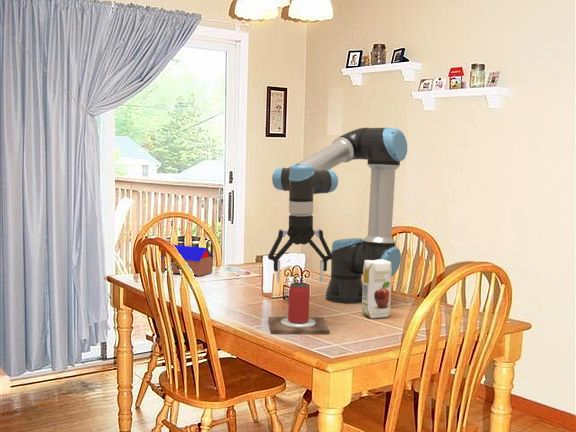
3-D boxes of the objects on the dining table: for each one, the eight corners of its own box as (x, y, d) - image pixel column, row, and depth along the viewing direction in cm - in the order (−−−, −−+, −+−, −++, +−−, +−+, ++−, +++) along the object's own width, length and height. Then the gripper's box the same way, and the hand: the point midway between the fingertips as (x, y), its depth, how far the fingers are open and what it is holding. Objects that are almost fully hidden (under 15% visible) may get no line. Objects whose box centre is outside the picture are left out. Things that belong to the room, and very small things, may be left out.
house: (198, 276, 295) (199, 249, 293) (160, 271, 303) (160, 245, 302) (213, 272, 305) (213, 246, 304) (175, 267, 314) (176, 242, 313)
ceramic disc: (313, 319, 223) (313, 317, 223) (317, 328, 212) (317, 326, 212) (279, 318, 222) (279, 317, 222) (281, 328, 211) (282, 326, 211)
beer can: (287, 318, 220) (287, 282, 218) (307, 318, 220) (308, 282, 219) (288, 324, 213) (289, 286, 212) (309, 324, 214) (310, 286, 212)
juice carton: (359, 313, 236) (361, 259, 234) (380, 312, 239) (382, 258, 237) (370, 319, 229) (372, 263, 227) (392, 317, 232) (394, 262, 230)
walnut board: (323, 320, 226) (323, 317, 225) (329, 334, 210) (329, 330, 210) (268, 320, 224) (268, 316, 224) (270, 334, 208) (271, 330, 208)
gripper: (338, 213, 218) (337, 278, 220) (260, 213, 216) (260, 279, 218) (342, 216, 210) (341, 283, 213) (261, 215, 208) (260, 284, 211)
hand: (300, 281), depth 216 cm, fingers open, 13 cm apart
